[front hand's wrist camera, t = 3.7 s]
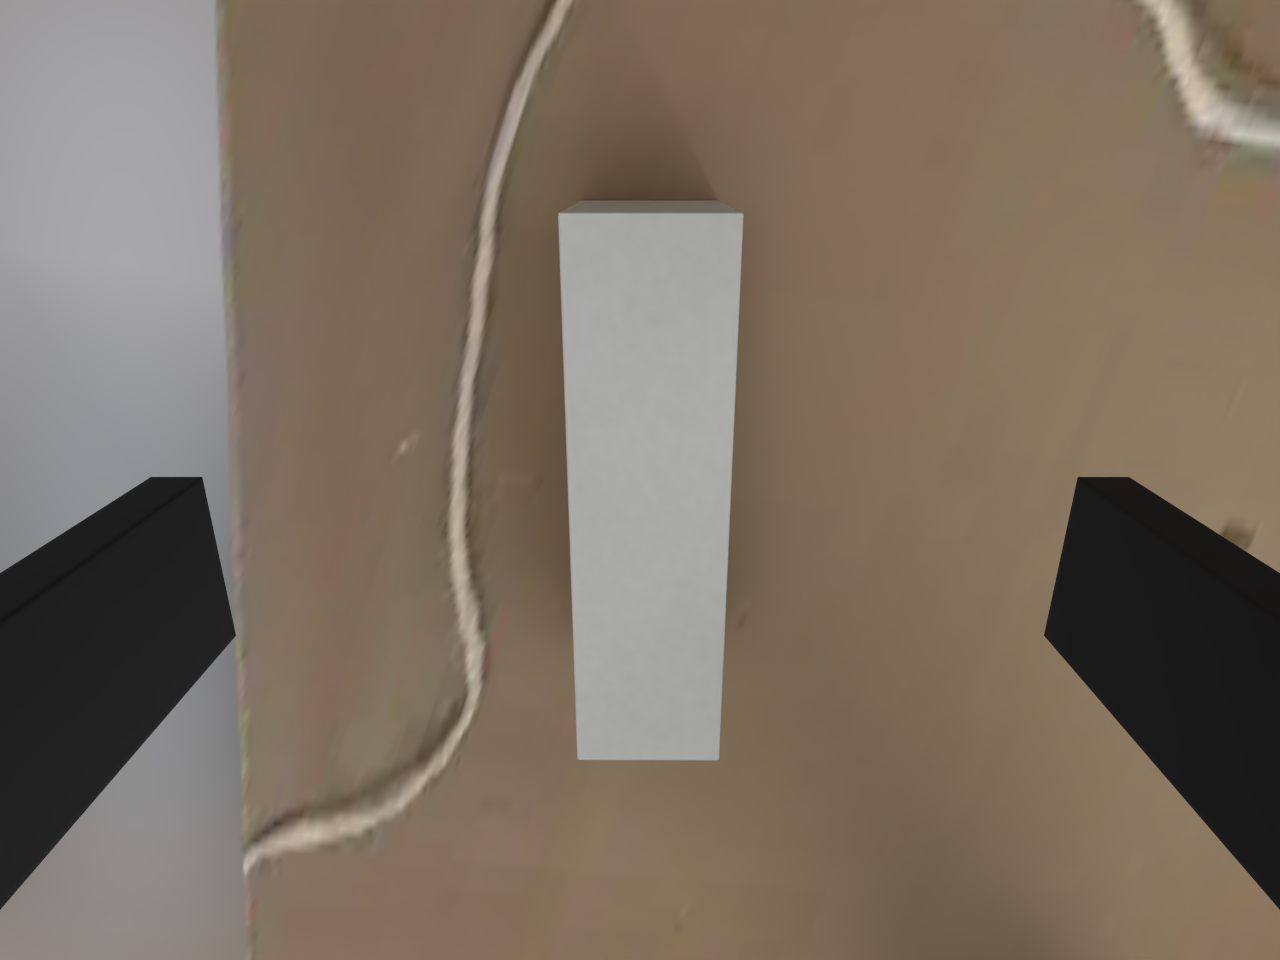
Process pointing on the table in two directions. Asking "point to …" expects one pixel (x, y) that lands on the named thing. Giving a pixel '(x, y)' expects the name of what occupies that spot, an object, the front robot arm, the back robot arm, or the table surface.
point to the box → (649, 468)
